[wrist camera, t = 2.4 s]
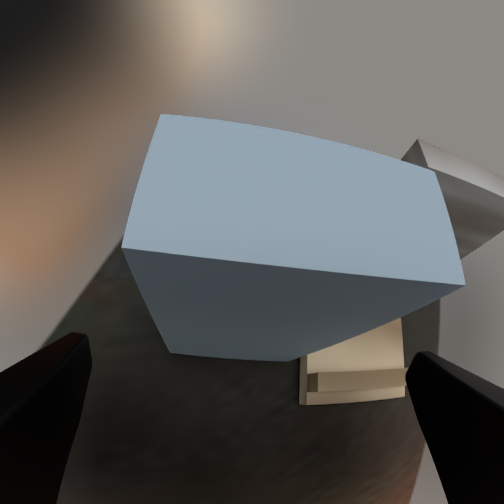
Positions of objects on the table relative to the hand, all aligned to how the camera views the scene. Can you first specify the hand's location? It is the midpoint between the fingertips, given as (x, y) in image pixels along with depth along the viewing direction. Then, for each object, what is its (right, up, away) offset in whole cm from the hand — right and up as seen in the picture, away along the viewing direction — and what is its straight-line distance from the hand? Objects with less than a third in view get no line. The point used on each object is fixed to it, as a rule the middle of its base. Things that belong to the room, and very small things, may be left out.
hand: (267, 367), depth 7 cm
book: (-2, -2, +10) cm, 10 cm away
